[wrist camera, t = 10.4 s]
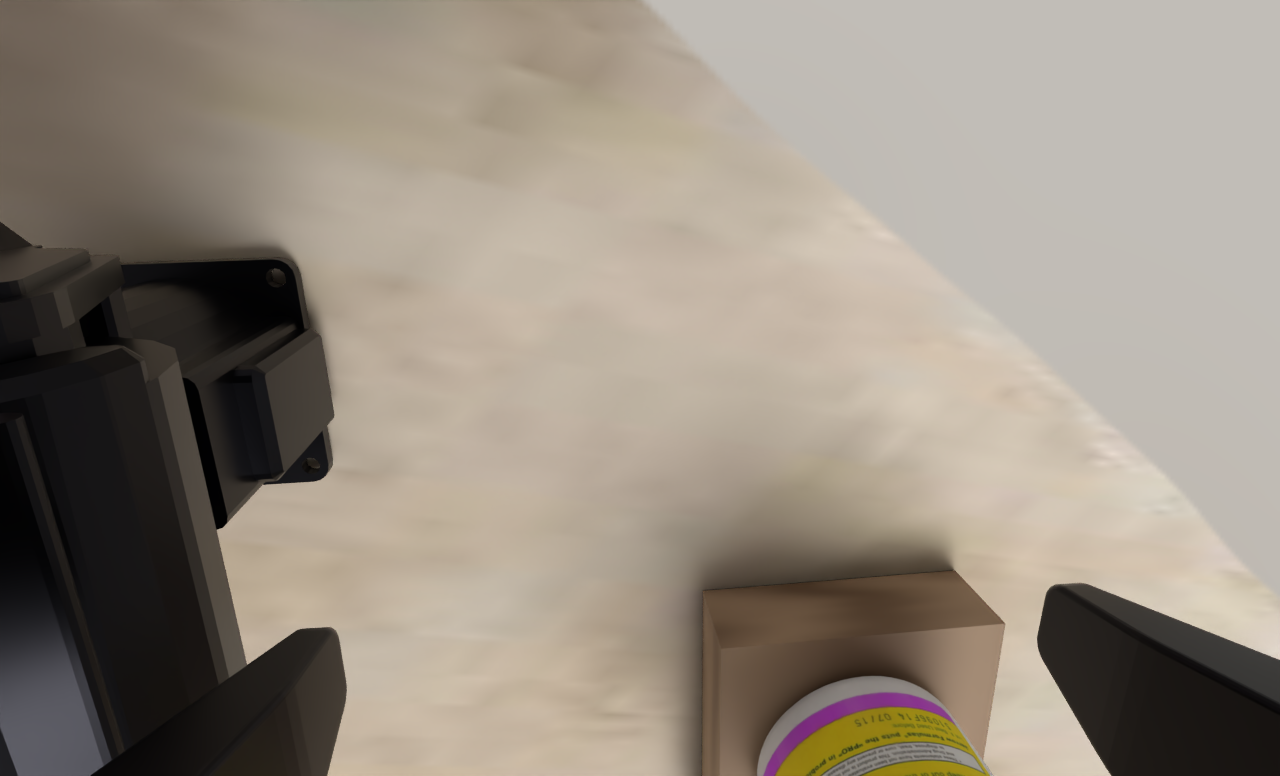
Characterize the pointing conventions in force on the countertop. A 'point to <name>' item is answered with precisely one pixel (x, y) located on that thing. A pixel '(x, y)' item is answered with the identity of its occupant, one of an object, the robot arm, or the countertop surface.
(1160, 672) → the robot arm
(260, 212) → the countertop surface
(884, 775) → the supplement bottle
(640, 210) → the countertop surface
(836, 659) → the walnut stand
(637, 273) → the countertop surface
